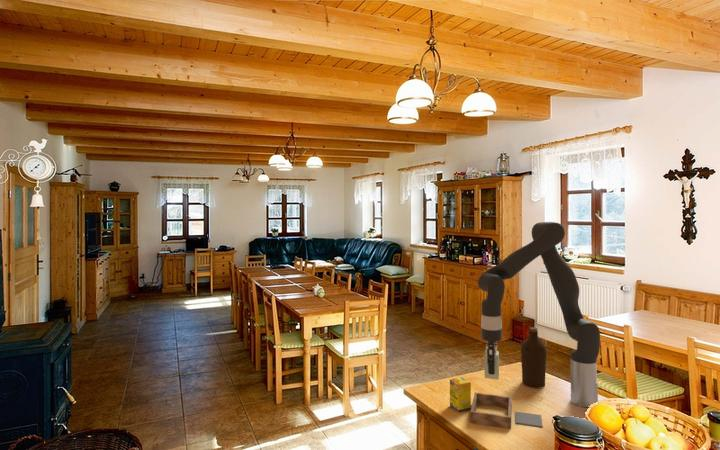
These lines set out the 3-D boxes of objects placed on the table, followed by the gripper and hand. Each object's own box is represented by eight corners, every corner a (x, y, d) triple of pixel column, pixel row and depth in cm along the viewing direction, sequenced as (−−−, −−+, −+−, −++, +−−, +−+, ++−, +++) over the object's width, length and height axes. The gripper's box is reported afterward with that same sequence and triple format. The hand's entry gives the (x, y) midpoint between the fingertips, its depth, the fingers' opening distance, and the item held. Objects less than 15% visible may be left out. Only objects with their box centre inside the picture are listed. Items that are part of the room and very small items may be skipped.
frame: (511, 407, 170) (511, 396, 170) (511, 428, 153) (511, 417, 153) (474, 402, 175) (474, 392, 175) (470, 422, 158) (470, 411, 158)
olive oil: (547, 390, 186) (547, 332, 185) (520, 386, 190) (520, 330, 189) (546, 381, 196) (546, 326, 195) (521, 378, 199) (521, 324, 199)
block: (499, 374, 165) (498, 351, 165) (498, 379, 161) (498, 355, 160) (485, 373, 167) (485, 350, 167) (484, 378, 162) (484, 354, 162)
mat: (541, 416, 162) (541, 415, 162) (542, 427, 154) (542, 426, 154) (515, 412, 166) (515, 411, 166) (515, 423, 157) (515, 422, 157)
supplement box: (449, 406, 172) (449, 378, 171) (462, 403, 174) (461, 376, 174) (458, 412, 166) (458, 384, 166) (471, 409, 169) (471, 381, 168)
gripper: (501, 332, 155) (501, 379, 156) (502, 322, 169) (502, 365, 169) (479, 331, 158) (480, 377, 158) (482, 321, 171) (482, 364, 172)
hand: (491, 371), depth 164 cm, fingers closed on block, 5 cm apart
